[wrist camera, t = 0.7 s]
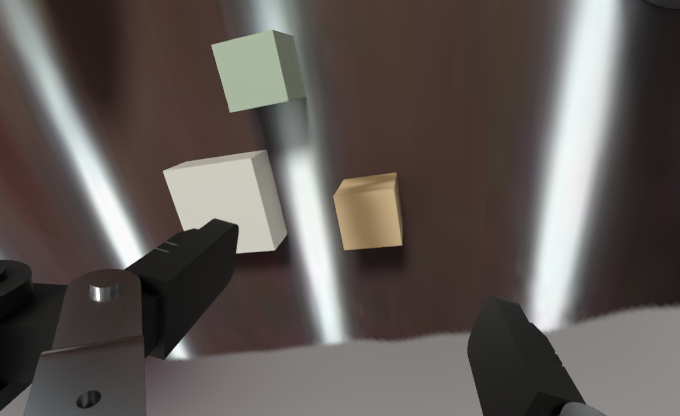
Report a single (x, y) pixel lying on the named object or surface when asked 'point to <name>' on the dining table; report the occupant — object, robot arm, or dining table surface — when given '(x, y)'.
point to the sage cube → (259, 70)
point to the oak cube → (369, 212)
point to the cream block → (230, 197)
